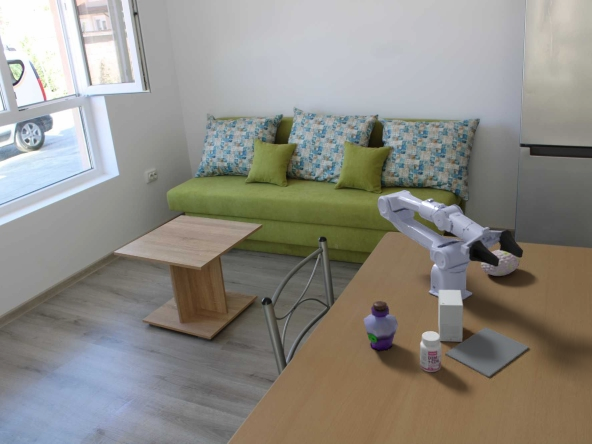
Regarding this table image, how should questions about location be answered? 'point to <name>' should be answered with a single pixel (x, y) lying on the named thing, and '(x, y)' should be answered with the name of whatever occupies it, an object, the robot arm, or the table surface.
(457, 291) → the small box
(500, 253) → the decorative item
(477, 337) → the mat
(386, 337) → the potion bottle
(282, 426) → the table surface
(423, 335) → the pill bottle
